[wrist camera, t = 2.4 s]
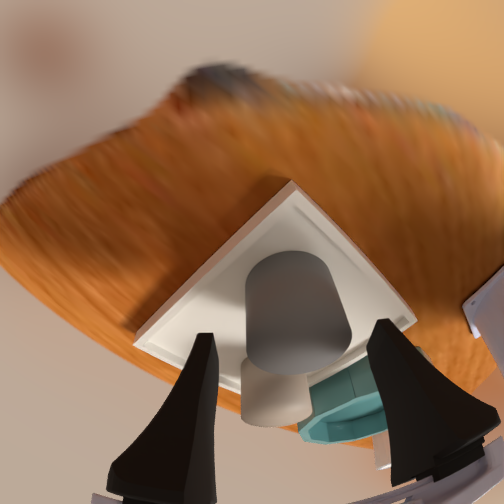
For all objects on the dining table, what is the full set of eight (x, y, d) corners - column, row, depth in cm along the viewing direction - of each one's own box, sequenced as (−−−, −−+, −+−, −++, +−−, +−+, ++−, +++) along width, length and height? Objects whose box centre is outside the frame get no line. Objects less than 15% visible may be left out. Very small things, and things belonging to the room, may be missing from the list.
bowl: (399, 325, 18) (416, 363, 15) (441, 370, 24) (451, 394, 21) (266, 401, 24) (268, 434, 21) (343, 423, 30) (347, 447, 27)
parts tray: (291, 179, 12) (296, 189, 11) (411, 308, 17) (417, 320, 16) (136, 331, 18) (132, 345, 17) (270, 393, 23) (271, 405, 22)
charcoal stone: (291, 233, 13) (308, 292, 10) (347, 282, 15) (369, 339, 12) (226, 289, 15) (223, 351, 11) (285, 326, 17) (294, 383, 13)
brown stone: (273, 340, 17) (279, 395, 14) (316, 363, 19) (325, 410, 16) (227, 368, 19) (226, 417, 16) (271, 387, 21) (275, 430, 18)
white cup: (414, 411, 31) (426, 449, 25) (400, 426, 35) (409, 461, 29) (374, 423, 31) (383, 465, 26) (363, 437, 35) (370, 473, 30)
